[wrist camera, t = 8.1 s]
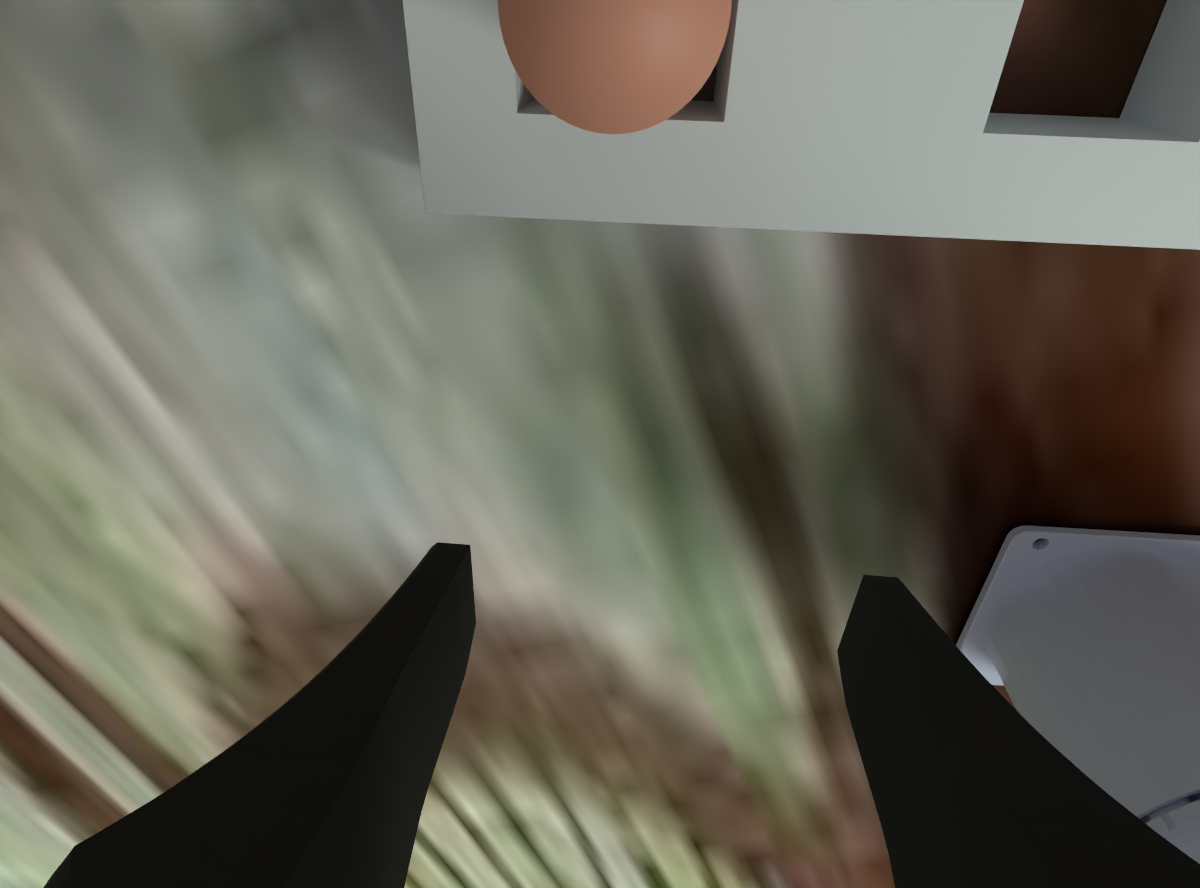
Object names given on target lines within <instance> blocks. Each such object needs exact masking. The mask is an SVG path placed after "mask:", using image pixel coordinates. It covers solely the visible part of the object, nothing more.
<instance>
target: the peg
mask: <svg viewBox="0 0 1200 888" xmlns="http://www.w3.org/2000/svg"><path fill="white" fill-rule="evenodd" d="M731 4H732V0H498V13H499V22H500V28H501V32H502V36H503V41H504V44H505V47H506V50H507V52H508V55H509V58H510V60H511V62H512V64H513V66H514V68H515V70H516V73H517V74H518V76H519V77H520V79H521V80H522V82H523V84H524V85H525V87H526V88H527V89H528V90H529V92H530V93H531V94H532V95H533V96H534V98H535V99H536V100H537V101H538V102H539V103H540V104H541V105H543V106H544V107H545V108H546V109H547V110H548V111H550V112H551V113H552V114H554V115H555V116H556V117H558V118H559V119H561V120H563V121H565V122H567V123H569V124H570V125H573V126H575V127H578V128H581V129H583V130H587V131H591V132H595V133H603V134H626V133H631V132H636V131H641V130H644V129H647V128H649V127H652V126H655V125H657V124H659V123H661V122H663V121H665V120H666V119H668V118H669V117H671V116H672V115H674V114H675V113H677V112H678V111H679V110H681V109H682V108H683V107H684V106H685V105H686V104H687V103H688V102H690V101H691V100H692V98H693V97H694V96H695V95H696V94H697V93H698V92H699V90H700V89H701V88H702V86H703V85H704V84H705V82H706V81H707V79H708V78H709V76H710V75H711V73H712V71H713V69H714V67H715V65H716V63H717V61H718V59H719V56H720V54H721V51H722V49H723V46H724V43H725V39H726V36H727V32H728V28H729V22H730V15H731Z"/></svg>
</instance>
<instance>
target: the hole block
mask: <svg viewBox="0 0 1200 888" xmlns="http://www.w3.org/2000/svg"><path fill="white" fill-rule="evenodd" d="M1023 2H1024V0H732V4H731V15H730V22H729V28H728V32H727V36H726V39H725V43H724V46H723V49H722V51H721V54H720V56H719V59H718V63H717V72H716V81H715V90H714V99H713V101H695V100H691V101H690V102H688V103H687V104H686V105H685V106H684V107H683V108H682V109H681V110H679V111H678V112H677V113H675V114H674V115H672V116H671V117H669V118H668V119H666V120H665V121H663V122H661V123H659V124H657V125H655V126H652V127H649V128H647V129H644V130H641V131H636V132H631V133H626V134H603V133H595V132H591V131H587V130H583V129H581V128H578V127H575V126H573V125H570V124H569V123H567V122H565V121H563V120H561V119H559V118H558V117H556V116H555V115H554V114H552V113H551V112H550V111H548V110H547V109H546V108H545V107H544V106H543V105H541V104H540V103H539V102H538V101H537V100H536V99H535V98H534V96H533V95H532V94H531V93H530V92H529V90H528V89H527V88H526V87H525V85H524V84H523V82H522V80H521V79H520V77H519V76H518V74H517V73H516V70H515V68H514V66H513V64H512V62H511V60H510V58H509V55H508V52H507V50H506V47H505V44H504V41H503V36H502V32H501V28H500V22H499V13H498V0H403V9H404V18H405V27H406V37H407V46H408V56H409V65H410V74H411V84H412V93H413V103H414V112H415V121H416V131H417V140H418V150H419V159H420V168H421V178H422V187H423V197H424V206H425V213H428V214H450V215H471V216H492V217H514V218H535V219H557V220H578V221H600V222H621V223H643V224H664V225H685V226H707V227H728V228H750V229H771V230H793V231H814V232H835V233H857V234H878V235H900V236H921V237H943V238H964V239H985V240H1007V241H1028V242H1050V243H1071V244H1093V245H1114V246H1135V247H1157V248H1178V249H1200V0H1167V2H1166V4H1165V7H1164V9H1163V12H1162V14H1161V17H1160V19H1159V22H1158V24H1157V26H1156V29H1155V31H1154V34H1153V36H1152V39H1151V41H1150V44H1149V46H1148V49H1147V51H1146V54H1145V56H1144V59H1143V61H1142V63H1141V66H1140V68H1139V71H1138V73H1137V76H1136V78H1135V81H1134V83H1133V86H1132V88H1131V91H1130V93H1129V96H1128V98H1127V100H1126V103H1125V105H1124V108H1123V110H1122V113H1121V115H1120V118H1104V117H1080V116H1056V115H1032V114H1008V113H989V112H990V108H991V105H992V102H993V99H994V95H995V92H996V89H997V86H998V82H999V79H1000V76H1001V73H1002V70H1003V66H1004V63H1005V60H1006V57H1007V53H1008V50H1009V47H1010V44H1011V40H1012V37H1013V34H1014V31H1015V28H1016V24H1017V21H1018V18H1019V15H1020V11H1021V8H1022V5H1023Z"/></svg>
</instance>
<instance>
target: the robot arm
mask: <svg viewBox="0 0 1200 888" xmlns="http://www.w3.org/2000/svg"><path fill="white" fill-rule="evenodd" d="M1041 538H1042V539H1041ZM1038 539H1041V540H1039V541H1037V542H1035V541H1036V540H1038ZM475 624H476V617H475V604H474V591H473V577H472V564H471V551H470V545H463V544H450V543H436V544H435V545H434V546H432V547H431V549H430V550H429V551H428V553H427V554H426V555H425V556H424V558H423V559H422V560H421V562H420V563H419V564H418V565H417V567H416V568H415V569H414V570H413V572H412V573H411V574H410V575H409V577H408V578H407V579H406V580H405V582H404V583H403V584H402V585H401V586H400V588H399V589H398V590H397V591H396V592H395V594H394V595H393V596H392V597H391V598H390V599H389V600H388V602H387V603H386V604H385V605H384V606H383V607H382V608H381V609H380V611H379V612H378V613H377V614H376V615H375V616H374V617H373V618H372V620H371V621H370V622H369V623H368V624H367V625H366V626H365V627H364V628H363V629H362V631H361V632H360V633H359V634H358V635H357V636H356V637H355V638H354V639H353V640H352V641H351V642H350V643H349V644H348V645H347V646H346V647H345V648H344V649H343V650H342V651H341V652H340V653H339V654H338V655H337V656H336V657H335V658H334V659H333V660H332V661H331V662H330V663H329V664H328V665H327V666H326V667H325V668H324V669H323V670H322V671H321V672H320V673H318V674H317V675H316V676H315V677H314V678H313V679H312V680H311V681H310V682H309V683H308V684H307V685H305V686H304V687H303V688H302V689H301V690H300V691H299V692H297V693H296V694H295V695H294V696H293V697H292V698H291V699H289V700H288V701H287V702H286V703H285V704H284V705H282V706H281V707H280V708H279V709H278V710H276V711H275V712H274V713H273V714H271V715H270V716H269V717H268V718H266V719H265V720H264V721H263V722H261V723H260V724H259V725H258V726H256V727H255V728H254V729H253V730H251V731H250V732H249V733H248V734H246V735H245V736H244V737H242V738H241V739H240V740H238V741H237V742H236V743H235V744H233V745H232V746H231V747H229V748H228V749H226V750H225V751H224V752H222V753H221V754H219V755H218V756H217V757H215V758H214V759H212V760H211V761H209V762H208V763H206V764H205V765H204V766H202V767H201V768H199V769H198V770H196V771H195V772H193V773H192V774H191V775H189V776H188V777H186V778H185V779H183V780H182V781H180V782H179V783H177V784H176V785H175V786H173V787H172V788H170V789H169V790H167V791H166V792H164V793H163V794H161V795H159V796H158V797H156V798H155V799H153V800H152V801H150V802H148V803H147V804H145V805H143V806H142V807H140V808H138V809H137V810H135V811H133V812H132V813H130V814H128V815H127V816H125V817H123V818H122V819H120V820H118V821H117V822H115V823H113V824H112V825H110V826H108V827H107V828H105V829H103V830H102V831H100V832H98V833H97V834H95V835H93V836H92V837H90V838H88V839H86V840H84V841H83V842H81V843H79V844H77V845H76V846H74V848H73V849H72V850H71V852H70V853H69V854H68V856H67V857H66V858H65V860H64V861H63V862H62V863H61V865H60V866H59V867H58V868H57V870H56V871H55V872H54V873H53V875H52V876H51V878H50V879H49V880H48V882H47V883H46V885H45V886H44V888H404V885H405V881H406V876H407V872H408V867H409V863H410V858H411V854H412V850H413V845H414V841H415V837H416V832H417V828H418V823H419V819H420V815H421V811H422V807H423V804H424V800H425V797H426V793H427V790H428V787H429V784H430V780H431V777H432V774H433V771H434V768H435V765H436V762H437V759H438V756H439V753H440V750H441V747H442V744H443V741H444V738H445V735H446V732H447V729H448V726H449V723H450V720H451V717H452V714H453V711H454V708H455V704H456V701H457V698H458V695H459V692H460V689H461V686H462V683H463V680H464V676H465V673H466V668H467V664H468V659H469V654H470V650H471V644H472V639H473V634H474V629H475ZM837 652H838V659H839V665H840V672H841V679H842V685H843V691H844V696H845V702H846V706H847V710H848V714H849V717H850V721H851V724H852V728H853V731H854V734H855V738H856V741H857V745H858V748H859V752H860V755H861V758H862V762H863V765H864V768H865V772H866V775H867V778H868V782H869V785H870V789H871V792H872V795H873V799H874V802H875V805H876V809H877V812H878V815H879V819H880V822H881V825H882V829H883V833H884V837H885V841H886V845H887V849H888V853H889V858H890V863H891V868H892V873H893V878H894V884H895V888H1200V536H1198V535H1181V534H1164V533H1147V532H1130V531H1112V530H1095V529H1078V528H1061V527H1043V526H1019V527H1016V528H1014V529H1013V530H1011V531H1010V532H1009V533H1008V535H1007V536H1006V538H1005V541H1004V543H1003V545H1002V547H1001V549H1000V551H999V553H998V556H997V558H996V560H995V562H994V564H993V566H992V569H991V571H990V573H989V575H988V577H987V579H986V581H985V584H984V586H983V588H982V590H981V592H980V594H979V597H978V599H977V601H976V603H975V605H974V607H973V609H972V612H971V614H970V616H969V618H968V620H967V622H966V625H965V627H964V629H963V631H962V633H961V635H960V637H959V640H958V642H957V644H956V645H955V644H954V643H953V642H952V641H951V639H950V638H949V637H948V636H947V635H946V634H945V632H944V631H943V630H942V629H941V628H940V627H939V625H938V624H937V623H936V622H935V621H934V620H933V618H932V617H931V616H930V615H929V614H928V613H927V611H926V610H925V609H924V608H923V607H922V605H921V604H920V603H919V602H918V601H917V600H916V598H915V597H914V596H913V595H912V594H911V592H910V591H909V590H908V589H907V588H906V587H905V585H904V584H903V583H902V582H901V581H900V580H899V579H898V578H897V577H884V576H871V575H863V578H862V581H861V584H860V587H859V590H858V593H857V596H856V598H855V601H854V604H853V607H852V610H851V613H850V616H849V619H848V621H847V624H846V627H845V630H844V633H843V636H842V639H841V642H840V644H839V647H838V650H837ZM992 685H1004V686H1005V688H1006V690H1007V692H1008V694H1009V696H1010V698H1011V700H1012V702H1013V704H1014V706H1015V708H1016V709H1015V708H1014V707H1013V706H1012V705H1011V704H1010V703H1009V702H1008V701H1007V700H1006V699H1005V698H1004V697H1003V696H1002V695H1001V694H1000V693H999V692H998V691H997V690H996V689H995V688H994V687H993V686H992Z"/></svg>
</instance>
